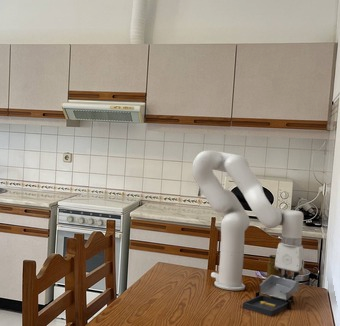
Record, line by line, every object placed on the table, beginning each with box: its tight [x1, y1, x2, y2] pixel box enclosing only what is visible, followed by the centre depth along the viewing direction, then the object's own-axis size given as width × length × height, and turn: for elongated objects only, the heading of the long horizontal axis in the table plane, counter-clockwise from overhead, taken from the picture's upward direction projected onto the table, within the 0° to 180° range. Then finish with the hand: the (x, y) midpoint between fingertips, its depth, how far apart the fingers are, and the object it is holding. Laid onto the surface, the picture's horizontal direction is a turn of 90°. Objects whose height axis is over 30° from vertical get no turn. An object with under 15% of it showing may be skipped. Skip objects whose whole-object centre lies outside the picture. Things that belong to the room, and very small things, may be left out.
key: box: [260, 301, 276, 307], centre depth 187 cm, size 6×2×1 cm, turn 51°
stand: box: [254, 290, 294, 310], centre depth 192 cm, size 13×10×3 cm
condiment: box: [261, 254, 282, 282], centre depth 218 cm, size 7×8×12 cm
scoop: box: [258, 273, 300, 301], centre depth 194 cm, size 11×17×4 cm
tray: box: [242, 294, 288, 317], centre depth 185 cm, size 11×15×2 cm
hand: (287, 286), depth 199 cm, fingers closed on scoop
